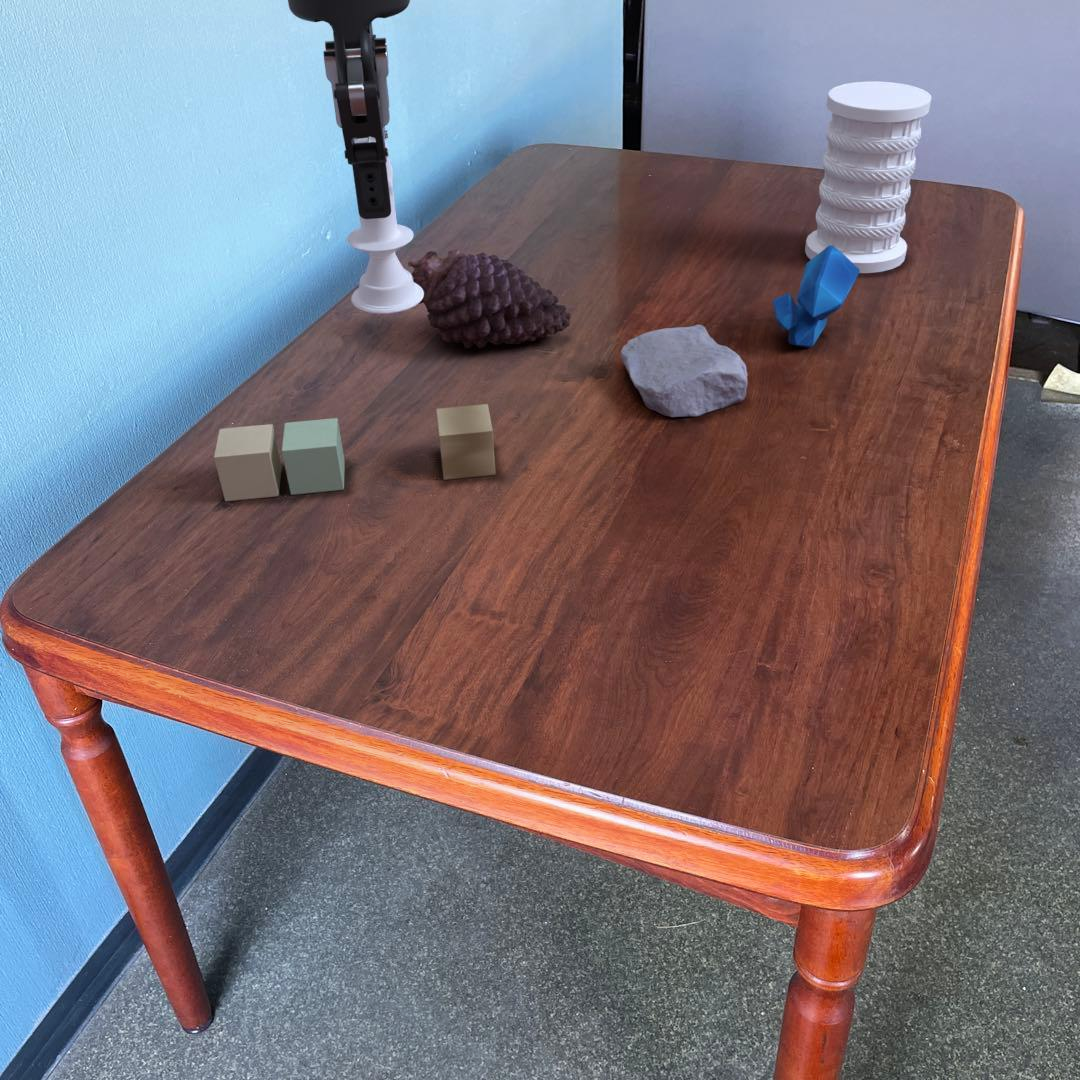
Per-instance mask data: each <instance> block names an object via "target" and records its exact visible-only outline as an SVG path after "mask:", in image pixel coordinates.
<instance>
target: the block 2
mask: <svg viewBox="0 0 1080 1080" xmlns="http://www.w3.org/2000/svg"><path fill="white" fill-rule="evenodd" d="M283 426H284V427H283V435H282V445H281V455H282V460H283V464H284V465H283V466H284V467H285V468H284V469H285V475H286V478H287V483H288V488H289V492H290V495H291V496H293V495H303V494H312V493H315V494H316V493H324V492H325V493H326V492H335V491H343V490H345V463H346V461H345V455H344V449H343V442H342V438H341V431H340V425H339V419H338V418H337V417H334V418H324V419H312V420H302V421H301V420H300V421H289V422H284V425H283Z"/></svg>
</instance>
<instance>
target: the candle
mask: <svg viewBox="0 0 1080 1080" xmlns="http://www.w3.org/2000/svg"><path fill="white" fill-rule="evenodd" d="M367 142H376V139H375V138H374V137H368V138H359V139H356V140H355V143H367ZM385 147H386V148H387V149H388V150H389V146H388V142H387V139H386V140H385ZM389 153H390V152H389V151H388V155H389V157H387V162H386V168H387V177H388V185H389V194H390V202H391V214H390V215H389V216H388V217H386V218H376V219H363V218H362V217H361V216H360V215H359V214H358V215H359V223H360V227H358V228H356V229H354V230H353V231H351V232H350V233H349V234H348V236H347V238H346V241H347V243H348V245H349V246H350V247H352V248H353V249H356V250H358V251H361V252H364V253H366V254H369V259H368V263H367V266H366V269H365V272H364V273H363V274H362V275H361V276H360V278H359V283H358V287H357V288H356V289H355V291H354V292H353V293H352V295H351V297H350V299H351V304H352V305H353V306H354V307H355V308H356V309H358V310H360V311H362V312H365V313H369V314H376V315H390V314H397V313H401V312H405V311H407V310H410V309H412V308H414V307H416V306H417V305H419V304H418V303H420V302H421V300H422V299H423V297H424V291H423V289H422V288H421V287H420V286H419V285H418V284H416V283H414V282H413V279H414V278H413V276H412V273H411V272H410V271H408V270H407V269H405V268H404V266H403V265H402V263H401V262H400V260H399V257H397V254H396V252H397V251H399V250H400V249H402V248H403V247H405V246H407V245H408V244H409V243H411V241H413V238H414V231H413V230H412V229H411V228H410V227H408V226H406V225H403V224H399V223H398V221H397V220H398V219H397V212H396V203H395V195H394V184H393V180H394V170H393V166H392V162H391V159H390V154H389Z"/></svg>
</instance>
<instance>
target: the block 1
mask: <svg viewBox="0 0 1080 1080" xmlns="http://www.w3.org/2000/svg"><path fill="white" fill-rule="evenodd" d="M213 454H214V455H213V459H214V464H215V467H216V471H217V475H218V479H219V483H220V488H221V491H222V494H223V499H224V501H225V502H232V501H233V502H234V501H235V502H236V501H243V500H255V499H264V498H272V497H273V498H275V497H279V496H280V489H281V488H280V487H281V481H282V480H281V478H282V471H283V466H282V461H281V457H280V452H279V446H278V442H277V437H276V433H275V428H274V424H273V423H268V424H267V423H266V424H257V425H247V426H237V427H226V428H219V430H218V435H217V440H216V444H215V449H214V453H213Z"/></svg>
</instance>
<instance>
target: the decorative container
mask: <svg viewBox="0 0 1080 1080" xmlns="http://www.w3.org/2000/svg"><path fill="white" fill-rule="evenodd" d="M932 97H933V96H932V95H931V94H930V92H928V91H926V90H925V89H923V88H920V87H918V86H914V85H910V84H906V83H900V82H892V81H878V80H876V81H855V82H848V83H842V84H840V85H836V86H834V87H832V88H830V89H829V91H828V93H827V100H826V101H827V102H826V108H827V110H828V111H829V112H831V121H830V122H829V123H828V126H827V127H826V140H827V150H826V151H825V153H824V155H823V158H822V167H823V170H824V175H823V178H822V179H821V182H820V184H819V186H818V189H819V190H818V192H819V197H820V204H819V205H818V207H817V210H816V212H815V223H816V225H817V226H816V227H817V228H816V230H813V231H812V232H811V233H809V234H808V235H807V237H806V240H805V245H804V246H805V247H804V252H805V255H806V257H807V258H808V259H809V261H810V260H811V259H813V258H814V257H815V256H816V255H818V254H819V253H820V252H821V251H823V250H824V249H825V248H826V247H828V246H829V245H832V246H834V247H836V248H837V249H838V250H839V251H841V252H842V253H843V254H844V255H845V256H846V257H847V258H848V259H849V260H850V261H851V262H852V263H853V264H854V265H855V266H856V267H857V268H859V274H874V273H883V272H886V271H890V270H893V269H895V268H897V267H900V266H901V265H902V264H903V263H904V262H905V260H906V256H907V250H908V244H907V242H906V240H905V239H904V238H903V237H901V232H902V231H903V230H904V227H905V225H906V221H907V219H906V214H907V213H906V206H907V205H906V204H908V203H909V200H910V197H911V194H912V190H911V189H912V188H911V187H912V186H911V184H910V183H911V177H912V175H913V174H914V172H915V170H916V167H917V157H916V156H915V155H916V149H917V146H919V143H920V141H921V140H922V139H921V138H922V128H921V122H922V117H925V116H926V115H928V114H929V112H930V108H931V103H932Z"/></svg>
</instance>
